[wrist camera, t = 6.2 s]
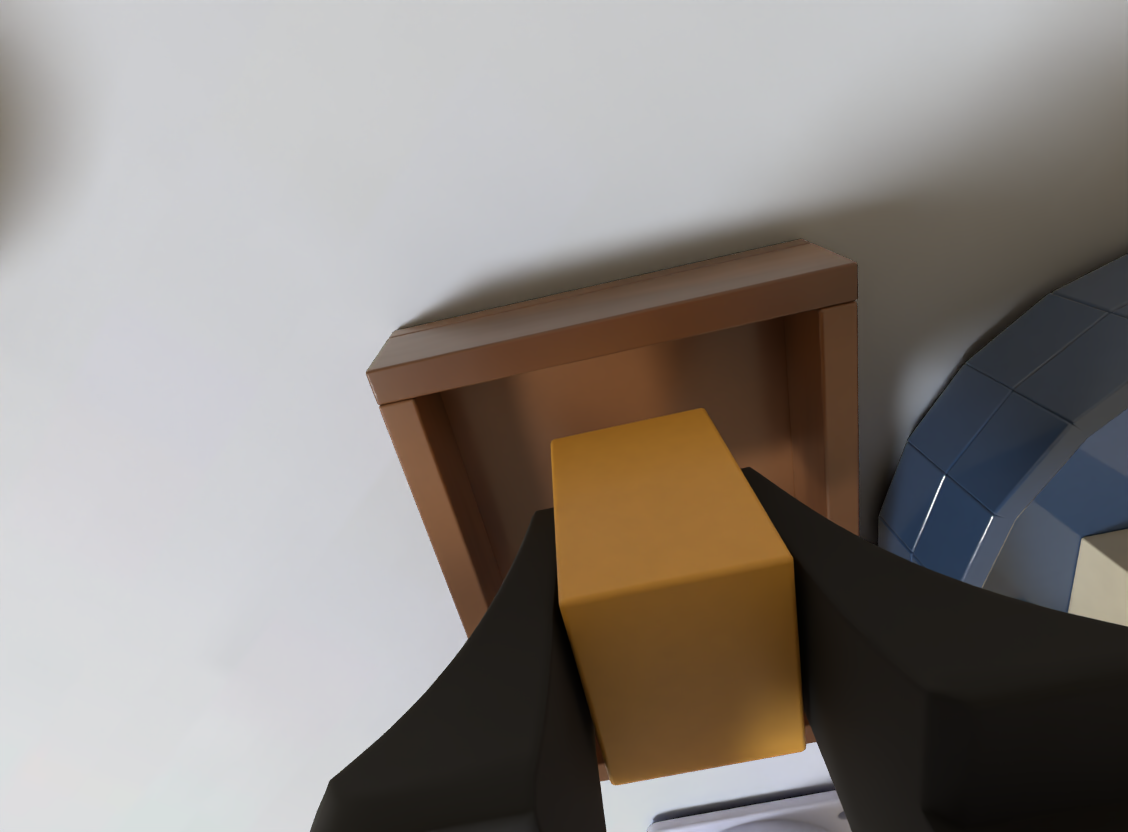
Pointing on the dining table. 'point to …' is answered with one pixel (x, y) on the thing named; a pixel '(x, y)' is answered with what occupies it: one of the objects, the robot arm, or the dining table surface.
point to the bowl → (1023, 450)
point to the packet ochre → (675, 599)
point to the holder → (624, 394)
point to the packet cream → (1102, 578)
